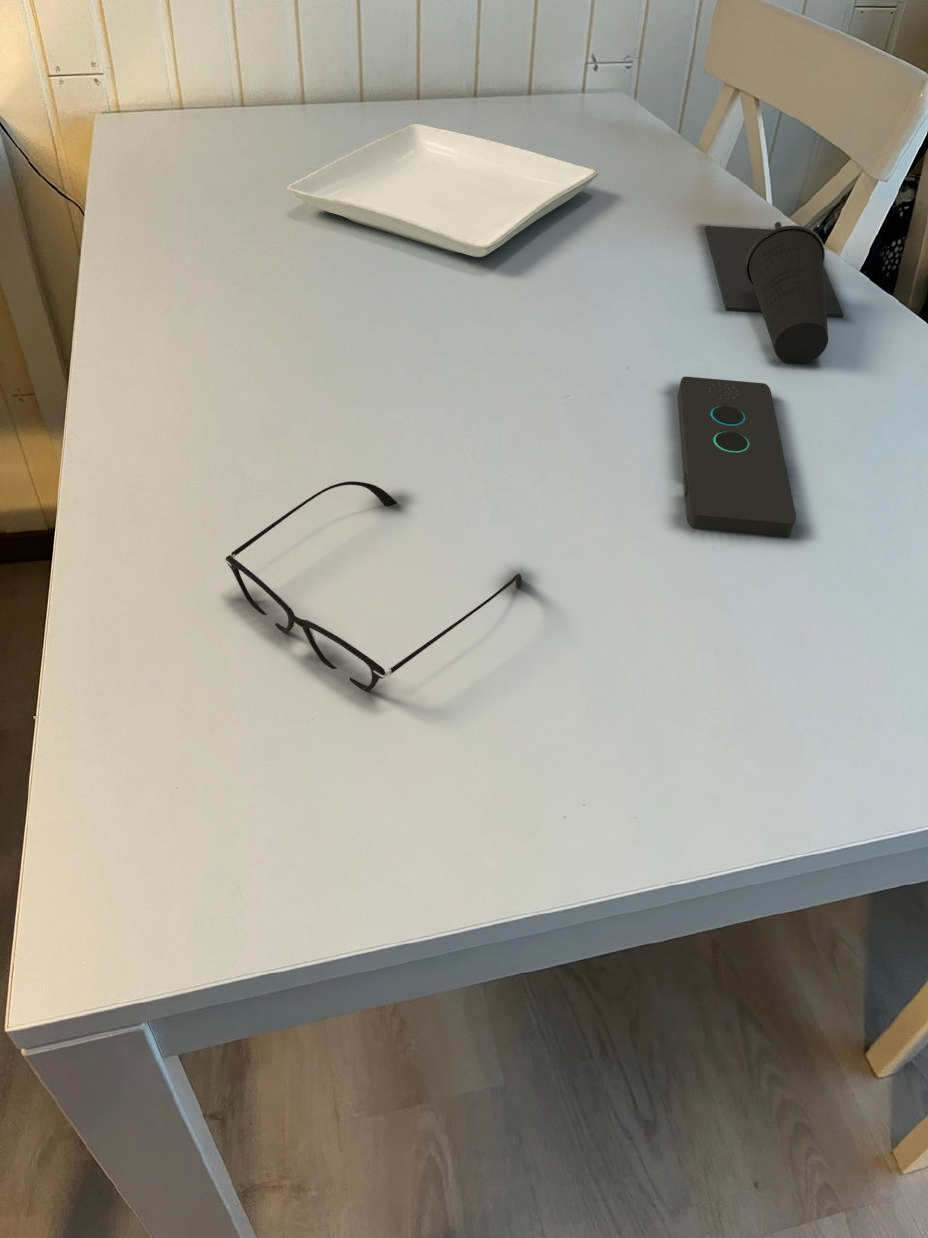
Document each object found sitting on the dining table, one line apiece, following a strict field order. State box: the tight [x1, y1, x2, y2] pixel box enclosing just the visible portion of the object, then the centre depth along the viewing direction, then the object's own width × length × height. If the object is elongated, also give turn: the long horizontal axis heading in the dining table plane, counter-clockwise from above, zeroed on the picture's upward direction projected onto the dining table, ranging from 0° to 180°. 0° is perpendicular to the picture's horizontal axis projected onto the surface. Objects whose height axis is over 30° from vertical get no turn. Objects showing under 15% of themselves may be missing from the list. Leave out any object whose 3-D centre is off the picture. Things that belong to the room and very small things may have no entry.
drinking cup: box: [746, 221, 829, 365], centre depth 95 cm, size 8×8×20 cm
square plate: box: [286, 123, 599, 258], centre depth 114 cm, size 27×27×4 cm
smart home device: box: [677, 376, 797, 539], centre depth 80 cm, size 8×2×20 cm
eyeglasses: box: [224, 480, 523, 692], centre depth 66 cm, size 16×16×4 cm
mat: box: [704, 225, 845, 319], centre depth 105 cm, size 20×12×1 cm, turn 176°
